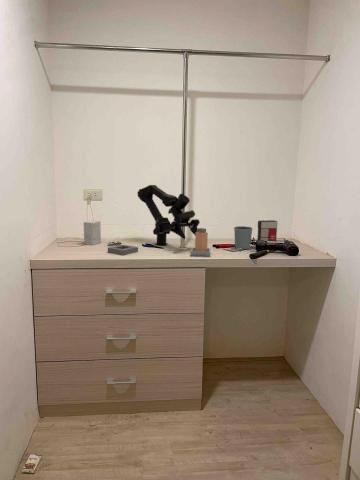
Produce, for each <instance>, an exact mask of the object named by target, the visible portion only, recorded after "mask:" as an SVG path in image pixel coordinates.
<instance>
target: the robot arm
mask: <svg viewBox="0 0 360 480" xmlns="http://www.w3.org/2000/svg"><path fill="white" fill-rule="evenodd" d="M136 195H137V197H138V199H139V200H140V201H141V202H143V203H144V204H145V205H146V207H147V208H148V210H149V212H150V214H151V215H152V217H153V219H154V221H155V223H154V229H153V230H152V232H153V233H152V234H153V235H156V243H155V246H167V245H168V242H167V235H170V233H174V234H176V235H177V236H179V237H181V238H182V239H184V240H185V239H186V235H185V233H184V232H183V229H182V228H186V227H188V229H190V230H189V231H190V232H191V233H192V234H193V235H194V236H195V232H197V228H198V226H199V224H200V223H201V221H200V220H199V218H197V219H196V218H195V219H192V218H194V217H195V216H196V212H195V211H194V210H193V209H191V210H188V211H185V212H184V211H183V210H184V209H185V208H186V207H187V206H188V204H189V203H190V202H191V201H190V198H189V197H188V196H187V195H185V194H184V193H180V194H179V195H178V197H177V196H176V195H173V194H169V193H167V192H165V191H164V190H163V189H161V188H159V187H158V186H157V185H156V184H149V185H147V186H144V187H142V188H139V190H138V191H137V194H136ZM154 196H155V197H157V198H158V199H160V200H161V202H162V204H163V206H165V208H166V207H169V209H168V210H167V211H168V212H167V213H168V214H172V216H173V221H170V220H169V218H168V217H164V216H163V215H162V213H161V211H160V209H159V208H158V206H157V204H156V203H155V202H156V201H154V199H153V197H154ZM189 221H190V222H189Z"/></svg>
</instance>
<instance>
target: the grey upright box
mask: <svg viewBox="0 0 360 480" xmlns="http://www.w3.org/2000/svg"><path fill="white" fill-rule="evenodd" d="M277 232H278V220H274V219H273V220H258V221H257V240H264V241H275V242H276V243H277V237H278V236H277V234H278V233H277ZM257 240H256V241H257Z"/></svg>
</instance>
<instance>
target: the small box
mask: <svg viewBox="0 0 360 480" xmlns="http://www.w3.org/2000/svg"><path fill="white" fill-rule="evenodd" d="M101 226H102V224H101V221H100V220H87V221H83V244H84V245H87V246H94V245H99V244H101V243H102V236H101V235H102V234H101V233H102V232H101V231H102V230H101Z"/></svg>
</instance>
